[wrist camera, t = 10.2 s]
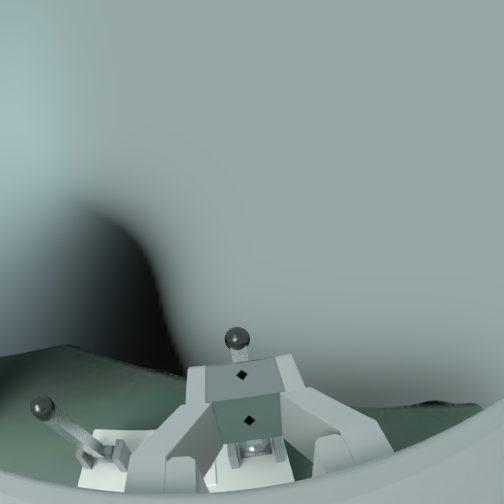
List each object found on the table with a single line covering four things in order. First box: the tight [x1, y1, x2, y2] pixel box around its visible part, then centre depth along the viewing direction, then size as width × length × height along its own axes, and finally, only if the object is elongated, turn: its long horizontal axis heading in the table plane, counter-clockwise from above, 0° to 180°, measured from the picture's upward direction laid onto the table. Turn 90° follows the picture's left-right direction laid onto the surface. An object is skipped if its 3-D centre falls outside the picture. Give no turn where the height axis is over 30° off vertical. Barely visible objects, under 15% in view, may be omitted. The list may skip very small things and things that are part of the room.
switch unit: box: [75, 429, 294, 493], centre depth 26 cm, size 22×10×6 cm, turn 97°
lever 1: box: [30, 395, 115, 463], centre depth 21 cm, size 3×2×13 cm
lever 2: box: [225, 327, 272, 459], centre depth 27 cm, size 3×2×13 cm
